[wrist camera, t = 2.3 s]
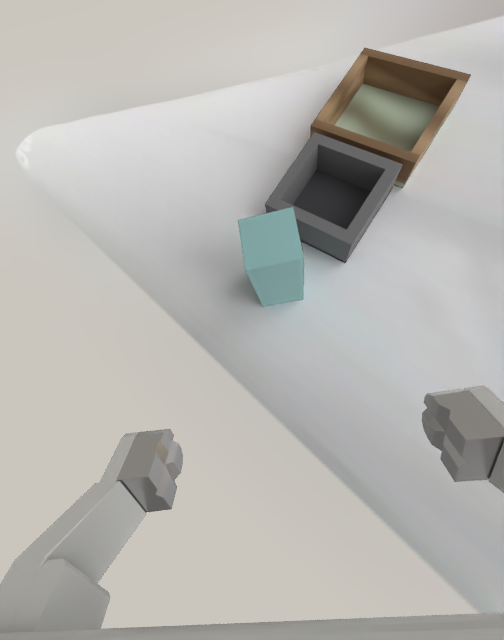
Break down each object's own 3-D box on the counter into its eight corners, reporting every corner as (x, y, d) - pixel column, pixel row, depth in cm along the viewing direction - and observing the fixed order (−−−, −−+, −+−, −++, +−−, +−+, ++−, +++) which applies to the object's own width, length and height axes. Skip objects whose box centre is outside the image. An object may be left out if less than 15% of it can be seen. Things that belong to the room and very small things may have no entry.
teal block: (295, 262, 31) (293, 206, 21) (303, 299, 30) (304, 258, 20) (257, 270, 32) (237, 220, 22) (263, 306, 30) (245, 270, 21)
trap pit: (313, 160, 34) (314, 132, 30) (390, 191, 31) (403, 164, 27) (269, 225, 33) (265, 203, 29) (345, 262, 30) (351, 244, 26)
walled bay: (358, 80, 35) (364, 47, 32) (453, 108, 32) (471, 74, 29) (309, 151, 34) (310, 125, 31) (402, 187, 31) (415, 163, 27)
